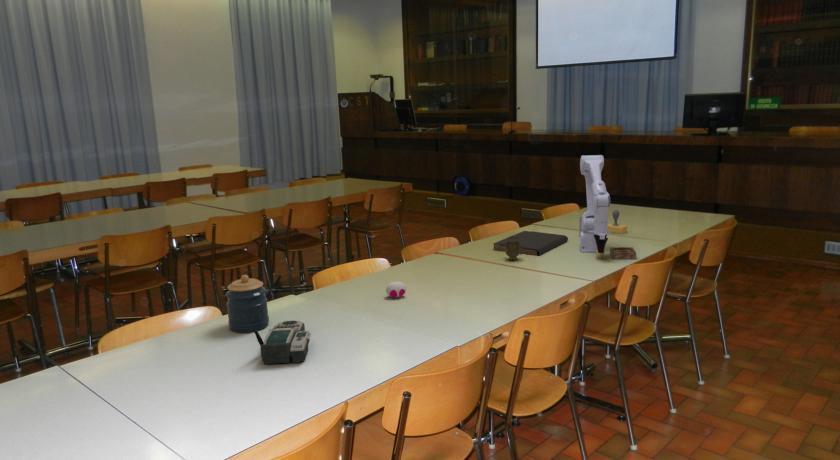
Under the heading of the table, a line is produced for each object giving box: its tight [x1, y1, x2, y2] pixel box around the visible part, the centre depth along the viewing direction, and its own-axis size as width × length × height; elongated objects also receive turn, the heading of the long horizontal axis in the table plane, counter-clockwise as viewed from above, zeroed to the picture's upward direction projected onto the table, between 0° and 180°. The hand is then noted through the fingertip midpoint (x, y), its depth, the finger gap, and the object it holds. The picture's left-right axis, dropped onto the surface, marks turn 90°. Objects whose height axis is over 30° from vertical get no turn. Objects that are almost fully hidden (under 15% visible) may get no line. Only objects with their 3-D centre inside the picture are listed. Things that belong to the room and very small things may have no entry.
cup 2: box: [578, 216, 589, 238], centre depth 317 cm, size 8×8×10 cm
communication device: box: [253, 319, 312, 365], centre depth 188 cm, size 14×28×10 cm, turn 4°
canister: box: [225, 274, 270, 334], centre depth 205 cm, size 13×13×18 cm
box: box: [609, 246, 637, 260], centre depth 278 cm, size 10×10×3 cm
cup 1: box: [504, 241, 521, 261], centre depth 278 cm, size 8×7×8 cm
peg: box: [595, 249, 605, 260], centre depth 275 cm, size 3×3×8 cm
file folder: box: [492, 230, 569, 257], centre depth 303 cm, size 33×4×24 cm
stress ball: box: [385, 281, 407, 300], centre depth 231 cm, size 8×8×7 cm
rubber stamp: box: [608, 209, 628, 235], centre depth 325 cm, size 10×6×12 cm, turn 48°
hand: (600, 251), depth 275 cm, fingers closed on peg, 3 cm apart
